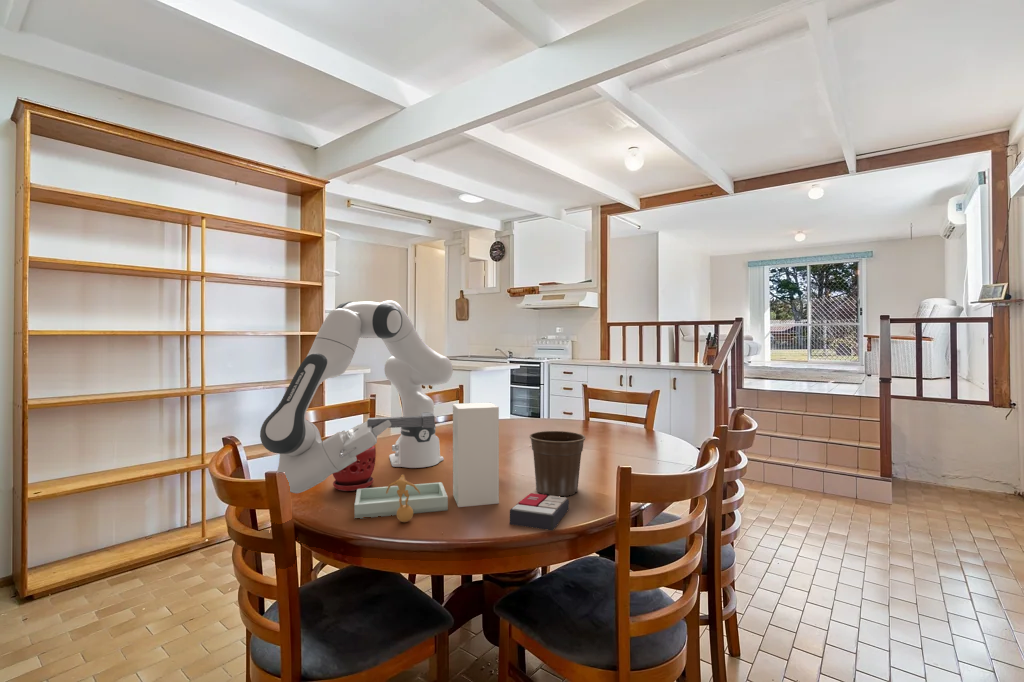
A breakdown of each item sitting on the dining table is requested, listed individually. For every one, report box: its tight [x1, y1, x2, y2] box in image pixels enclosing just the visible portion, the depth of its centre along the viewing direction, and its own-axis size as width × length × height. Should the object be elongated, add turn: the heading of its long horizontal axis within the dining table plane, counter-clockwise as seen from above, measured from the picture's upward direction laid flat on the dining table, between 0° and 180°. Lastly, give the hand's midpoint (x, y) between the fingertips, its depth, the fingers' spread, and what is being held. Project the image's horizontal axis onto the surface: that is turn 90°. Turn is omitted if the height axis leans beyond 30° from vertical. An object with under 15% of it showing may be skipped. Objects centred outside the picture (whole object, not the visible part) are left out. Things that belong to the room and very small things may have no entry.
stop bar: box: [366, 412, 436, 429], centre depth 127 cm, size 7×17×3 cm, turn 105°
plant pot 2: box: [529, 430, 586, 497], centre depth 140 cm, size 16×16×16 cm
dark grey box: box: [509, 492, 570, 531], centre depth 120 cm, size 11×4×15 cm
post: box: [452, 402, 500, 508], centre depth 132 cm, size 10×11×26 cm
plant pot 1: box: [332, 445, 377, 492], centre depth 144 cm, size 13×13×12 cm
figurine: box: [386, 474, 420, 523], centre depth 115 cm, size 8×6×12 cm
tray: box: [354, 481, 449, 519], centre depth 127 cm, size 13×23×4 cm, turn 105°
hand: (390, 420), depth 126 cm, fingers closed on stop bar, 2 cm apart
